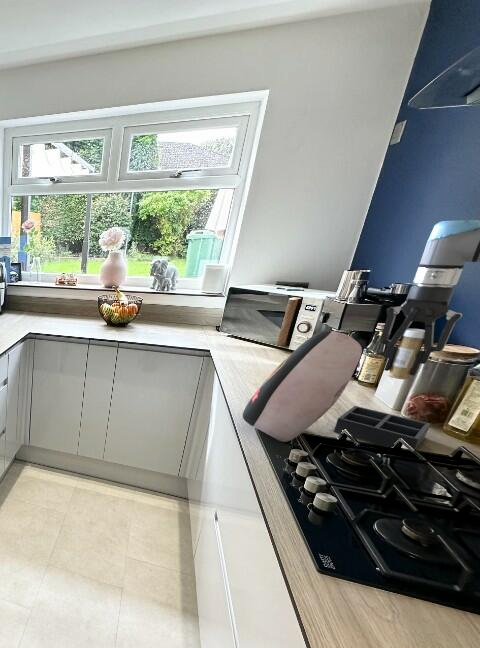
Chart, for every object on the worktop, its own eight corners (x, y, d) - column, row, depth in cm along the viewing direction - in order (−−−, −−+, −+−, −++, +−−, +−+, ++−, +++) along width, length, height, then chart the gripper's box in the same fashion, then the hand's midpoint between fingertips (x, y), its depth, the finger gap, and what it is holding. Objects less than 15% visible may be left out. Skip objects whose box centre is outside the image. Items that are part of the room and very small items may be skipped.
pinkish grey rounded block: (253, 413, 125) (278, 318, 115) (335, 433, 111) (372, 328, 101) (231, 434, 111) (258, 329, 101) (322, 461, 97) (363, 342, 87)
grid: (424, 439, 108) (430, 423, 107) (411, 455, 100) (418, 439, 98) (349, 419, 120) (354, 405, 118) (333, 432, 112) (338, 418, 110)
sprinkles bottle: (415, 380, 108) (434, 331, 103) (397, 379, 108) (415, 331, 104) (399, 374, 112) (417, 328, 108) (381, 374, 113) (399, 327, 108)
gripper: (382, 283, 106) (354, 366, 114) (484, 289, 93) (444, 383, 101) (389, 282, 110) (361, 362, 118) (488, 287, 97) (449, 378, 105)
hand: (399, 371), depth 109 cm, fingers closed on sprinkles bottle, 4 cm apart
